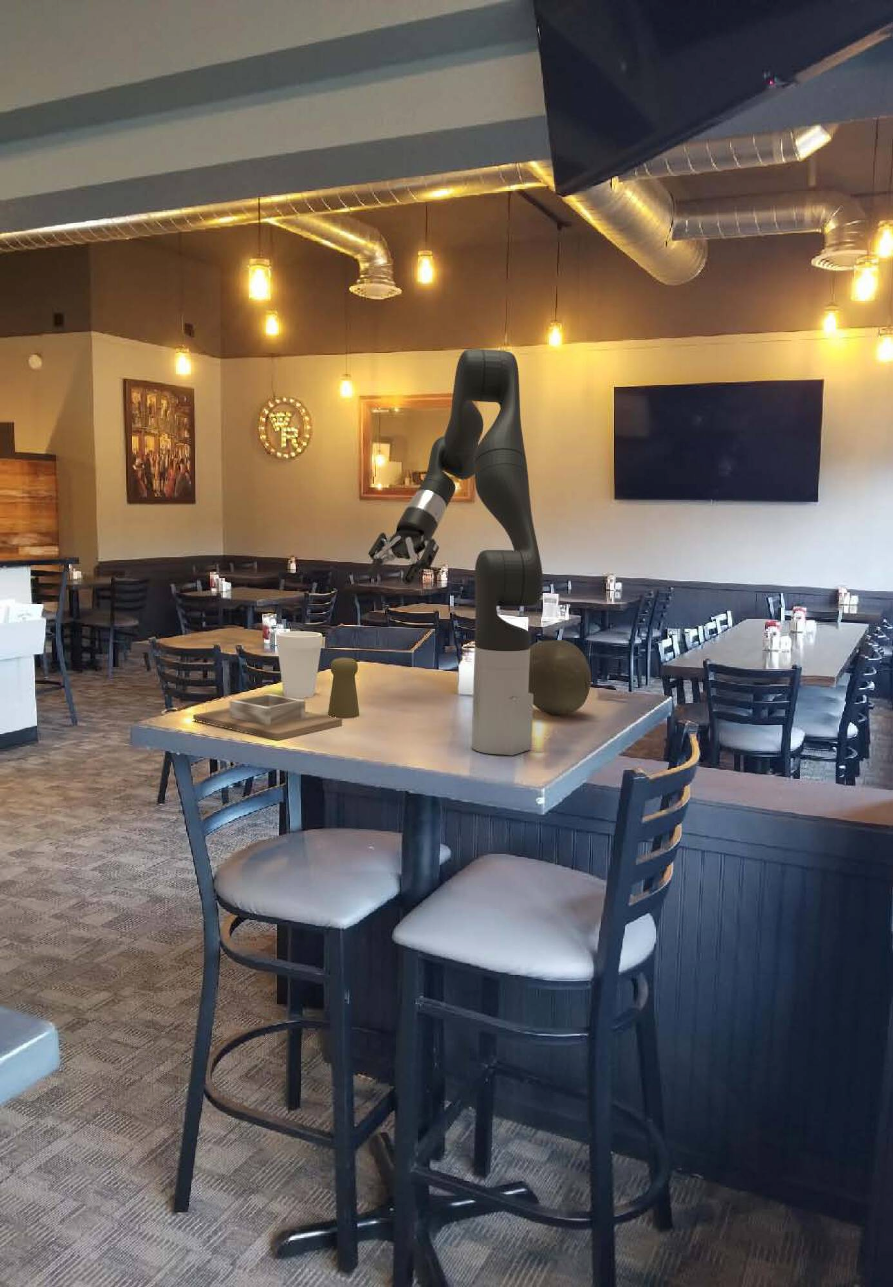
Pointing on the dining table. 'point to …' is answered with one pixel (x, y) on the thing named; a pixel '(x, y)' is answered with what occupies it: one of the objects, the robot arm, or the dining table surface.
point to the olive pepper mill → (343, 689)
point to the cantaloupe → (558, 677)
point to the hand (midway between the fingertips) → (387, 579)
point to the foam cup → (299, 662)
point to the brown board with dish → (269, 717)
